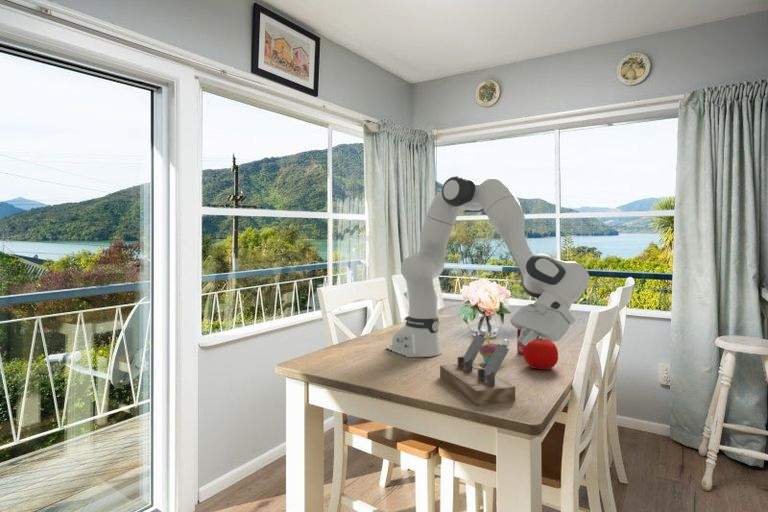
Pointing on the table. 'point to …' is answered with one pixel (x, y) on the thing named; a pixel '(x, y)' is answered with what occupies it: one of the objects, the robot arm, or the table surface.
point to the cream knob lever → (497, 358)
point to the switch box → (477, 383)
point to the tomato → (540, 353)
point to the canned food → (520, 346)
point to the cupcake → (487, 350)
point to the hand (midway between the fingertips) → (520, 343)
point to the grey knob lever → (474, 347)
